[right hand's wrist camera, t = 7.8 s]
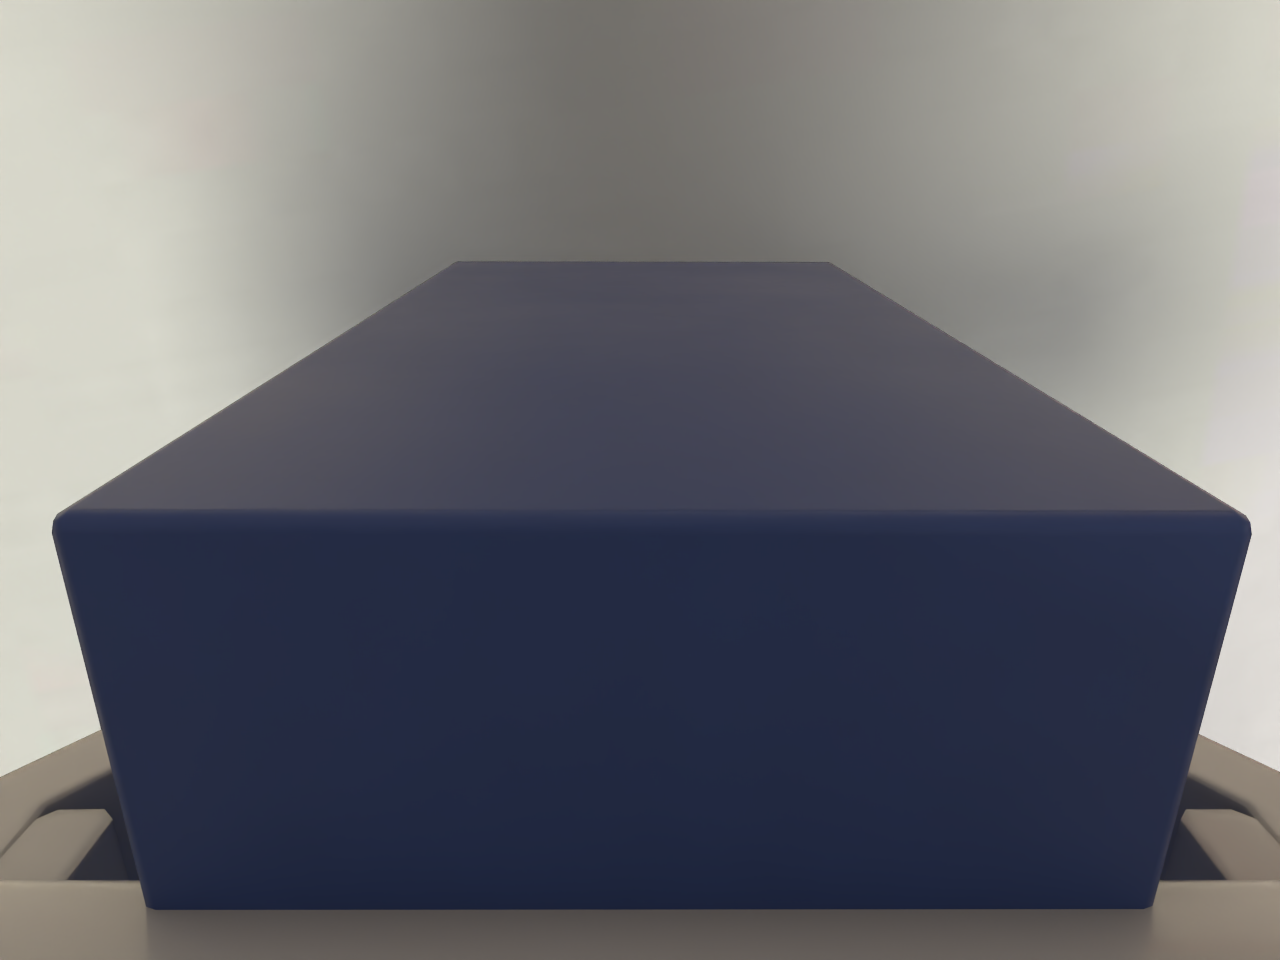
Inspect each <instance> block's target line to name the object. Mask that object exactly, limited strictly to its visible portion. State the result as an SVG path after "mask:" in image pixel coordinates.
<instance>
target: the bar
mask: <svg viewBox="0 0 1280 960" xmlns="http://www.w3.org/2000/svg"><path fill="white" fill-rule="evenodd" d="M52 535H53V539H54V543H55V547H56V551H57V555H58V559H59V563H60V567H61V571H62V575H63V579H64V583H65V587H66V591H67V595H68V599H69V603H70V607H71V611H72V615H73V619H74V623H75V627H76V631H77V635H78V639H79V643H80V647H81V650H82V654H83V658H84V662H85V666H86V670H87V674H88V678H89V682H90V686H91V690H92V694H93V698H94V702H95V706H96V710H97V714H98V718H99V722H100V726H101V730H102V734H103V738H104V742H105V746H106V750H107V754H108V758H109V762H110V766H111V770H112V774H113V778H114V782H115V786H116V789H117V793H118V797H119V801H120V805H121V809H122V813H123V817H124V821H125V825H126V829H127V833H128V837H129V841H130V845H131V849H132V853H133V857H134V861H135V865H136V869H137V873H138V877H139V881H140V885H141V889H142V893H143V897H144V901H145V905H146V907H149V908H151V909H154V910H704V909H1145V908H1148V907H1151V906H1153V903H1154V899H1155V895H1156V891H1157V888H1158V884H1159V880H1160V876H1161V873H1162V869H1163V865H1164V861H1165V858H1166V854H1167V850H1168V846H1169V843H1170V839H1171V835H1172V831H1173V828H1174V824H1175V820H1176V816H1177V813H1178V809H1179V805H1180V801H1181V798H1182V794H1183V790H1184V786H1185V783H1186V779H1187V775H1188V771H1189V768H1190V764H1191V760H1192V756H1193V753H1194V749H1195V745H1196V741H1197V738H1198V734H1199V730H1200V726H1201V723H1202V719H1203V715H1204V711H1205V708H1206V704H1207V700H1208V696H1209V693H1210V689H1211V685H1212V681H1213V678H1214V674H1215V670H1216V666H1217V663H1218V659H1219V655H1220V651H1221V648H1222V644H1223V640H1224V636H1225V633H1226V629H1227V625H1228V621H1229V618H1230V614H1231V610H1232V606H1233V603H1234V599H1235V595H1236V591H1237V588H1238V584H1239V580H1240V576H1241V572H1242V569H1243V565H1244V561H1245V557H1246V554H1247V550H1248V546H1249V542H1250V539H1251V535H1252V533H1251V525H1250V522H1249V520H1248V518H1247V517H1246V515H1244V514H1242V513H1241V512H1239V511H1237V510H1236V509H1234V508H1233V507H1231V506H1229V505H1228V504H1226V503H1224V502H1223V501H1221V500H1219V499H1218V498H1216V497H1214V496H1213V495H1211V494H1210V493H1208V492H1206V491H1205V490H1203V489H1201V488H1200V487H1198V486H1196V485H1195V484H1193V483H1191V482H1190V481H1188V480H1187V479H1185V478H1183V477H1182V476H1180V475H1178V474H1177V473H1175V472H1173V471H1172V470H1170V469H1168V468H1167V467H1165V466H1164V465H1162V464H1160V463H1159V462H1157V461H1155V460H1154V459H1152V458H1150V457H1149V456H1147V455H1145V454H1144V453H1142V452H1140V451H1139V450H1137V449H1136V448H1134V447H1132V446H1131V445H1129V444H1127V443H1126V442H1124V441H1122V440H1121V439H1119V438H1117V437H1116V436H1114V435H1113V434H1111V433H1109V432H1108V431H1106V430H1104V429H1103V428H1101V427H1099V426H1098V425H1096V424H1094V423H1093V422H1091V421H1090V420H1088V419H1086V418H1085V417H1083V416H1081V415H1080V414H1078V413H1076V412H1075V411H1073V410H1071V409H1070V408H1068V407H1067V406H1065V405H1063V404H1062V403H1060V402H1058V401H1057V400H1055V399H1053V398H1052V397H1050V396H1048V395H1047V394H1045V393H1043V392H1042V391H1040V390H1039V389H1037V388H1035V387H1034V386H1032V385H1030V384H1029V383H1027V382H1025V381H1024V380H1022V379H1020V378H1019V377H1017V376H1016V375H1014V374H1012V373H1011V372H1009V371H1007V370H1006V369H1004V368H1002V367H1001V366H999V365H997V364H996V363H994V362H993V361H991V360H989V359H988V358H986V357H984V356H983V355H981V354H979V353H978V352H976V351H974V350H973V349H971V348H970V347H968V346H966V345H965V344H963V343H961V342H960V341H958V340H956V339H955V338H953V337H951V336H950V335H948V334H946V333H945V332H943V331H942V330H940V329H938V328H937V327H935V326H933V325H932V324H930V323H928V322H927V321H925V320H923V319H922V318H920V317H919V316H917V315H915V314H914V313H912V312H910V311H909V310H907V309H905V308H904V307H902V306H900V305H899V304H897V303H896V302H894V301H892V300H891V299H889V298H887V297H886V296H884V295H882V294H881V293H879V292H877V291H876V290H874V289H873V288H871V287H869V286H868V285H866V284H864V283H863V282H861V281H859V280H858V279H856V278H854V277H853V276H851V275H849V274H848V273H846V272H845V271H843V270H841V269H840V268H838V267H836V266H835V265H833V264H831V263H829V262H456V263H454V264H452V265H451V266H449V267H447V268H446V269H444V270H443V271H441V272H439V273H438V274H436V275H435V276H433V277H432V278H430V279H428V280H427V281H425V282H424V283H422V284H420V285H419V286H417V287H416V288H414V289H413V290H411V291H409V292H408V293H406V294H405V295H403V296H401V297H400V298H398V299H397V300H395V301H394V302H392V303H390V304H389V305H387V306H386V307H384V308H382V309H381V310H379V311H378V312H376V313H375V314H373V315H371V316H370V317H368V318H367V319H365V320H364V321H362V322H360V323H359V324H357V325H356V326H354V327H352V328H351V329H349V330H348V331H346V332H345V333H343V334H341V335H340V336H338V337H337V338H335V339H333V340H332V341H330V342H329V343H327V344H326V345H324V346H322V347H321V348H319V349H318V350H316V351H314V352H313V353H311V354H310V355H308V356H307V357H305V358H303V359H302V360H300V361H299V362H297V363H295V364H294V365H292V366H291V367H289V368H288V369H286V370H284V371H283V372H281V373H280V374H278V375H276V376H275V377H273V378H272V379H270V380H269V381H267V382H265V383H264V384H262V385H261V386H259V387H258V388H256V389H254V390H253V391H251V392H250V393H248V394H246V395H245V396H243V397H242V398H240V399H239V400H237V401H235V402H234V403H232V404H231V405H229V406H227V407H226V408H224V409H223V410H221V411H220V412H218V413H216V414H215V415H213V416H212V417H210V418H208V419H207V420H205V421H204V422H202V423H201V424H199V425H197V426H196V427H194V428H193V429H191V430H189V431H188V432H186V433H185V434H183V435H182V436H180V437H178V438H177V439H175V440H174V441H172V442H170V443H169V444H167V445H166V446H164V447H163V448H161V449H159V450H158V451H156V452H155V453H153V454H152V455H150V456H148V457H147V458H145V459H144V460H142V461H140V462H139V463H137V464H136V465H134V466H133V467H131V468H129V469H128V470H126V471H125V472H123V473H121V474H120V475H118V476H117V477H115V478H114V479H112V480H110V481H109V482H107V483H106V484H104V485H102V486H101V487H99V488H98V489H96V490H95V491H93V492H91V493H90V494H88V495H87V496H85V497H83V498H82V499H80V500H79V501H77V502H76V503H74V504H72V505H71V506H69V507H68V508H66V509H64V510H63V511H61V512H60V513H58V514H57V516H56V517H55V519H54V521H53V528H52Z"/></svg>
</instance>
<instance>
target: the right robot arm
mask: <svg viewBox="0 0 1280 960" xmlns="http://www.w3.org/2000/svg"><path fill="white" fill-rule="evenodd" d="M0 960H1280V772H1279V771H1277V770H1274V769H1272V768H1270V767H1268V766H1266V765H1264V764H1262V763H1259V762H1257V761H1255V760H1253V759H1251V758H1249V757H1247V756H1244V755H1242V754H1240V753H1238V752H1236V751H1234V750H1232V749H1229V748H1227V747H1225V746H1223V745H1221V744H1219V743H1217V742H1215V741H1212V740H1210V739H1208V738H1206V737H1204V736H1202V735H1200V734H1198V738H1197V741H1196V745H1195V749H1194V753H1193V756H1192V760H1191V764H1190V768H1189V771H1188V775H1187V779H1186V783H1185V786H1184V790H1183V794H1182V798H1181V801H1180V805H1179V809H1178V813H1177V816H1176V820H1175V824H1174V828H1173V831H1172V835H1171V839H1170V843H1169V846H1168V850H1167V854H1166V858H1165V861H1164V865H1163V869H1162V873H1161V876H1160V880H1159V884H1158V888H1157V891H1156V895H1155V899H1154V903H1153V906H1151V907H1148V908H1145V909H704V910H154V909H151V908H149V907H146V905H145V901H144V897H143V893H142V889H141V885H140V881H139V877H138V873H137V869H136V865H135V861H134V857H133V853H132V849H131V845H130V841H129V837H128V833H127V829H126V825H125V821H124V817H123V813H122V809H121V805H120V801H119V797H118V793H117V789H116V786H115V782H114V778H113V774H112V770H111V766H110V762H109V758H108V754H107V750H106V746H105V742H104V738H103V734H102V730H99V731H97V732H95V733H93V734H91V735H89V736H87V737H84V738H82V739H80V740H78V741H76V742H74V743H72V744H70V745H67V746H65V747H63V748H61V749H59V750H57V751H55V752H53V753H51V754H48V755H46V756H44V757H42V758H40V759H38V760H36V761H34V762H31V763H29V764H27V765H25V766H23V767H21V768H19V769H17V770H14V771H12V772H10V773H8V774H6V775H4V776H2V777H0Z"/></svg>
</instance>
